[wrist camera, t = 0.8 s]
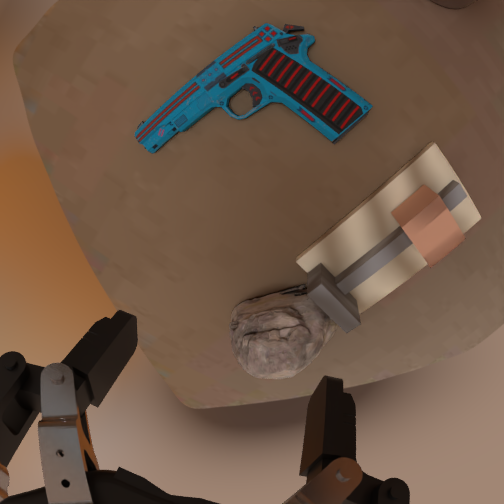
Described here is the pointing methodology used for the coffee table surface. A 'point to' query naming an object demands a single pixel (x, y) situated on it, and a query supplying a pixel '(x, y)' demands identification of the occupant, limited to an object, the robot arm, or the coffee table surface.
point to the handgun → (260, 88)
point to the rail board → (379, 241)
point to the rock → (279, 333)
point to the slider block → (429, 225)
